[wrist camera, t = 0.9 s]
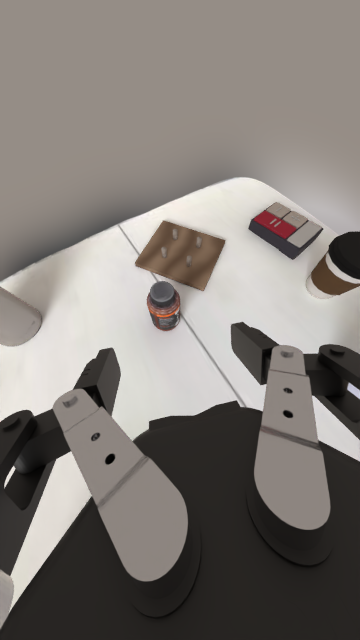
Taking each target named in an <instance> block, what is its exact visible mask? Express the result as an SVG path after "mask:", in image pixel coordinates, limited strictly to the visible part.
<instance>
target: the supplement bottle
mask: <svg viewBox="0 0 360 640" xmlns="http://www.w3.org/2000/svg"><path fill="white" fill-rule="evenodd" d="M147 306H148V309H149V312H150V315H151V318H152V321H153V323H154V325H155V326H156V327H157V328H158V329H160V330H162V331H169V330H172V329H174V328H175V327H176V326H177V325H178V323H179V319H180V297H179V294H178V292H177V291H176V290H175V289H174V288H173V286H172V285H171V284H170V283H168V282H165V281H160V282H157V283H155V284H154V285H153V286H152V287H151V289H150V293H149V294H148V297H147Z"/></svg>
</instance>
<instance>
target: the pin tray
mask: <svg viewBox="0 0 360 640" xmlns="http://www.w3.org/2000/svg"><path fill="white" fill-rule="evenodd" d="M224 244H225V240H222V239H219V238H216V237H213V236H210V235H207V234H204V233H201V232H197V231H194V230H191V229H188V228H185V227H182V226H179V225H176V224H173V223H170V222H167V221H163V222H162V223H161V225H160V226H159V228H158V229H157V231H156V232H155V233H154V235H153V236H152V238H151V239H150V241H149V242H148V244H147V245H146V247H145V248H144V250H143V251H142V253H141V254H140V256H139V257H138V259H137V260H136V262H135V264H136V266H137V267H140V268H143V269H145V270H148V271H151V272H154V273H156V274H159V275H162V276H164V277H167V278H170V279H172V280H175V281H178V282H180V283H183V284H186V285H189V286H191V287H194V288H197V289H199V290H202V291H204V289H205V287H206V284H207V282H208V280H209V278H210V275H211V273H212V271H213V269H214V266H215V264H216V262H217V260H218V257H219V255H220V253H221V251H222V248H223V246H224Z"/></svg>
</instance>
